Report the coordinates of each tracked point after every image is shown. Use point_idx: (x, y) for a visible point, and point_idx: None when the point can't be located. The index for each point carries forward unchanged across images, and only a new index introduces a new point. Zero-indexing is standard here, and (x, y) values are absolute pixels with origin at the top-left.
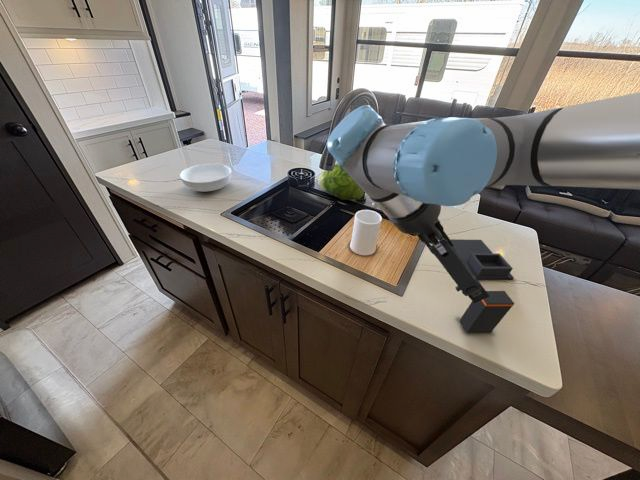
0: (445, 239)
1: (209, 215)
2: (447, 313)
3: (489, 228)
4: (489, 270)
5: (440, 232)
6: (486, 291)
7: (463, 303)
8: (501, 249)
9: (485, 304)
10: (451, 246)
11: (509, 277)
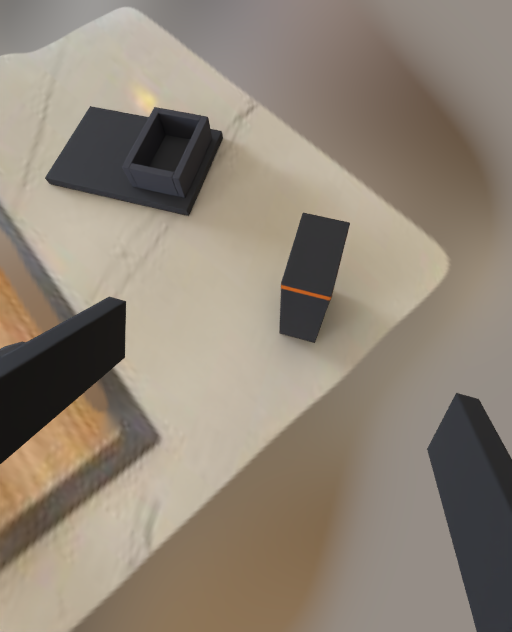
0: (77, 347)
1: None
2: (252, 349)
3: (67, 61)
4: (188, 167)
5: (15, 386)
6: (290, 262)
7: (240, 288)
8: (137, 89)
9: (327, 298)
10: (123, 314)
11: (217, 139)
